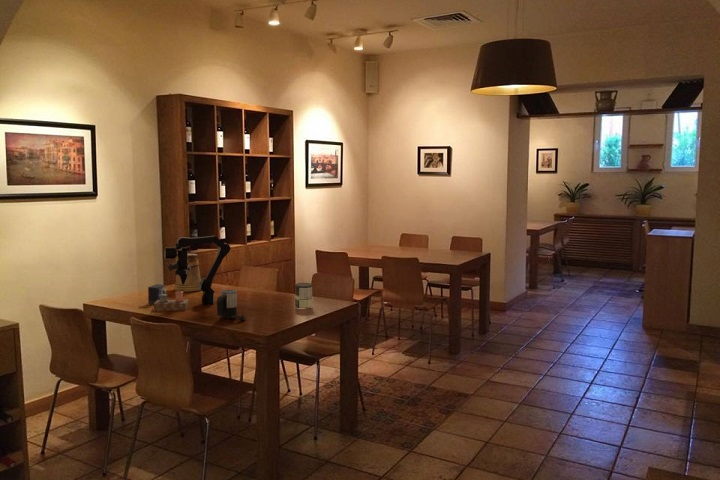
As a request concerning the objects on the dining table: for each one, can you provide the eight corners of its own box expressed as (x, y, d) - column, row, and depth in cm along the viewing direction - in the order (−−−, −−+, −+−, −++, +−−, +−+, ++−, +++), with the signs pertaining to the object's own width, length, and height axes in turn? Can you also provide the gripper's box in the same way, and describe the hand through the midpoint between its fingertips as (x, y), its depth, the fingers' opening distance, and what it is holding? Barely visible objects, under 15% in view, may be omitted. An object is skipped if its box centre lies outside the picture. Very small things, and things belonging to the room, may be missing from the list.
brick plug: (184, 304, 346) (183, 291, 346) (182, 306, 342) (182, 292, 341) (175, 304, 346) (175, 291, 345) (174, 306, 341) (174, 292, 340)
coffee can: (291, 308, 348) (291, 285, 346) (300, 305, 357) (300, 282, 355) (306, 310, 343) (306, 286, 342) (315, 306, 352) (315, 283, 351)
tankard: (186, 293, 385) (186, 256, 383) (164, 289, 399) (164, 252, 396) (208, 289, 400) (208, 253, 397) (186, 285, 414) (186, 250, 411)
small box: (157, 304, 353) (157, 287, 351) (147, 304, 354) (147, 287, 353) (166, 301, 363) (166, 284, 362) (157, 300, 364) (156, 283, 363)
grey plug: (168, 307, 345) (167, 293, 344) (166, 309, 341) (166, 295, 340) (160, 307, 345) (159, 294, 344) (158, 309, 340) (158, 295, 339)
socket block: (188, 306, 350) (188, 299, 349) (186, 310, 340) (186, 303, 339) (157, 306, 347) (156, 300, 346) (153, 310, 337) (153, 303, 337)
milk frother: (223, 315, 329) (223, 289, 328) (251, 316, 328) (250, 290, 326) (214, 321, 315) (214, 294, 314) (243, 322, 314) (243, 295, 312)
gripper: (171, 256, 356) (171, 281, 358) (165, 260, 338) (166, 287, 339) (190, 256, 358) (190, 281, 359) (185, 260, 339) (186, 287, 341)
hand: (183, 284), depth 350 cm, fingers closed
